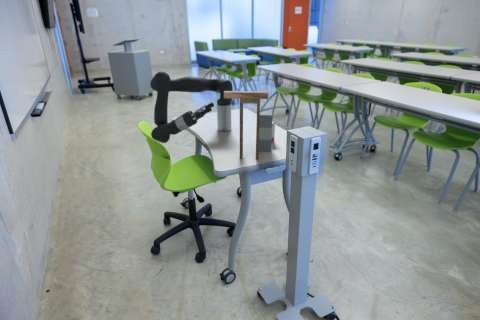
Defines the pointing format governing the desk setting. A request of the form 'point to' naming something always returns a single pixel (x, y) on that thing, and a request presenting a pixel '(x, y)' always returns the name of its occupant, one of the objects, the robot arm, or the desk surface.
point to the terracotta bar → (245, 94)
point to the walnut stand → (253, 101)
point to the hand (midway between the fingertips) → (212, 106)
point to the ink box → (273, 131)
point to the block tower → (265, 131)
